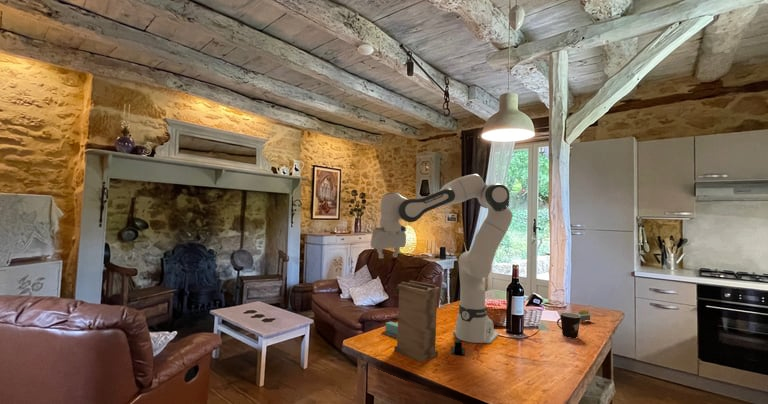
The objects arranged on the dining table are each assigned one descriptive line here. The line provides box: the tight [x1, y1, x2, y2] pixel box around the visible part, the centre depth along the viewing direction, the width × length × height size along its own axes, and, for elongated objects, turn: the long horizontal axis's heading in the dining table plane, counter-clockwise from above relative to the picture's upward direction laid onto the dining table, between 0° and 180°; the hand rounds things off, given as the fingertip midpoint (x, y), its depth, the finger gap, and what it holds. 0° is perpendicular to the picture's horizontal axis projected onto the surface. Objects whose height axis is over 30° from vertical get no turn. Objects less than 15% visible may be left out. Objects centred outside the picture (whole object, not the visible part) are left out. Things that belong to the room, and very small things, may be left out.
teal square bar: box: [384, 321, 398, 335], centre depth 156 cm, size 4×22×4 cm, turn 46°
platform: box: [576, 309, 594, 321], centre depth 192 cm, size 12×18×7 cm, turn 116°
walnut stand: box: [393, 280, 441, 363], centre depth 139 cm, size 10×14×28 cm
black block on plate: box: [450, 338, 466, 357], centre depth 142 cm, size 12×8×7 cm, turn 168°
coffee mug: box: [556, 312, 581, 339], centre depth 167 cm, size 12×9×10 cm
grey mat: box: [381, 330, 397, 340], centre depth 156 cm, size 9×22×1 cm, turn 46°
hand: (388, 257), depth 160 cm, fingers open, 8 cm apart
